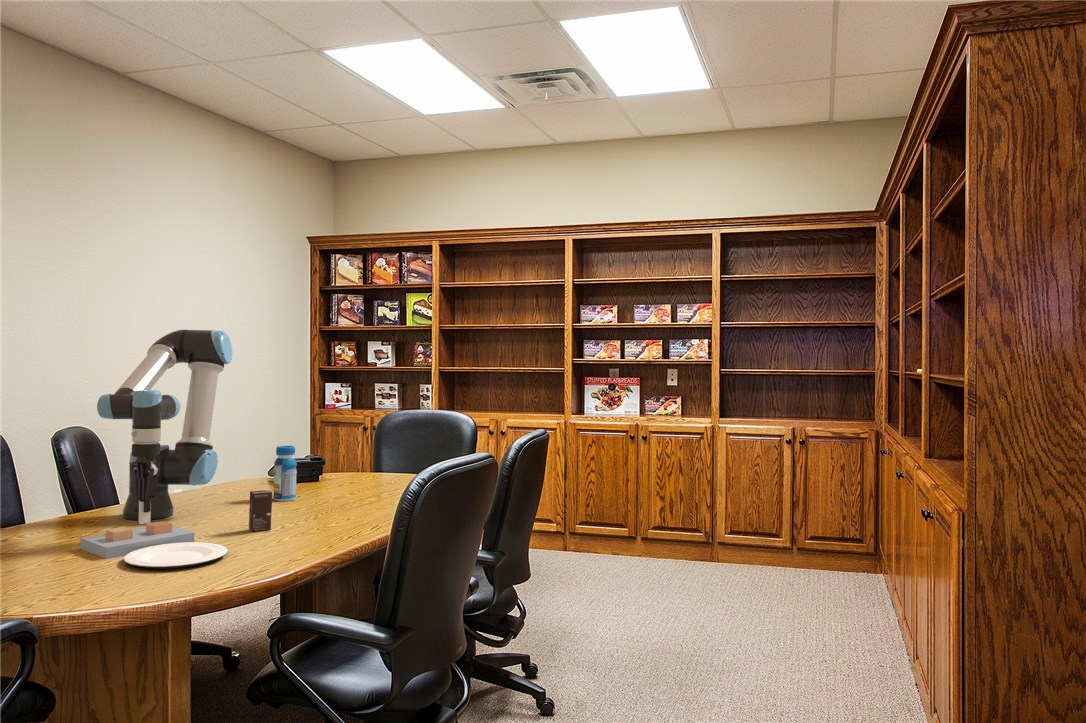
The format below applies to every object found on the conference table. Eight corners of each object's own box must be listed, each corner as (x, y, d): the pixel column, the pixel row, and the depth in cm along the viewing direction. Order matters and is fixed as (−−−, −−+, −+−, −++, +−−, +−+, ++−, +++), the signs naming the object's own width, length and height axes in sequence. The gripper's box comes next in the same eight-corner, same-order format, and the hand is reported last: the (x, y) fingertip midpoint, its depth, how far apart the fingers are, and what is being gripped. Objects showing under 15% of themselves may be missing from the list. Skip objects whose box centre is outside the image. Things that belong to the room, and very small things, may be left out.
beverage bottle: (292, 501, 288) (293, 448, 288) (269, 501, 288) (270, 447, 288) (299, 497, 297) (300, 445, 297) (277, 497, 297) (278, 445, 297)
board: (80, 548, 213) (80, 537, 213) (166, 534, 232) (166, 524, 232) (106, 558, 204) (106, 547, 204) (194, 542, 223) (194, 532, 223)
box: (251, 532, 237) (252, 493, 237) (248, 529, 241) (249, 490, 241) (272, 530, 241) (272, 491, 241) (268, 527, 244) (269, 489, 244)
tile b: (105, 538, 213) (105, 529, 213) (124, 535, 217) (124, 526, 217) (113, 541, 210) (113, 532, 210) (132, 538, 214) (132, 529, 214)
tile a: (146, 532, 222) (146, 523, 222) (163, 529, 226) (163, 520, 226) (154, 535, 218) (154, 526, 218) (172, 532, 222) (172, 523, 222)
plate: (159, 579, 188) (159, 571, 188) (103, 562, 201) (103, 555, 201) (247, 557, 209) (247, 550, 209) (191, 544, 222) (191, 537, 222)
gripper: (122, 441, 228) (121, 521, 228) (143, 445, 220) (141, 528, 220) (148, 440, 234) (146, 517, 234) (169, 443, 226) (168, 524, 226)
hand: (144, 522), depth 227 cm, fingers closed
